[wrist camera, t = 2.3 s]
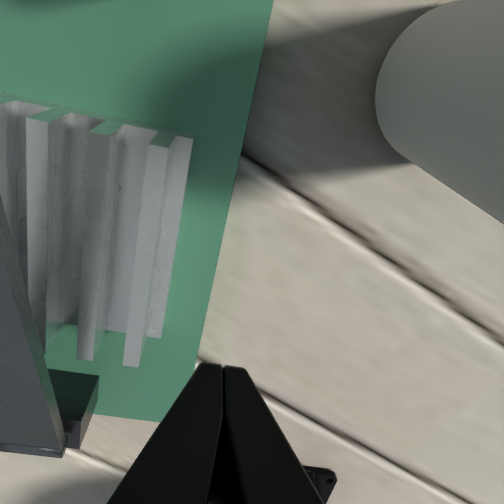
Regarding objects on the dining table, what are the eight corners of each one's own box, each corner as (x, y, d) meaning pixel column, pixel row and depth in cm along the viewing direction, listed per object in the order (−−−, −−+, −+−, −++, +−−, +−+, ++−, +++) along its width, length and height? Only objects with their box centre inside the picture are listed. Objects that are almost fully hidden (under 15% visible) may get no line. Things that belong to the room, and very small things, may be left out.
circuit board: (184, 409, 26) (182, 425, 25) (-57, 377, 24) (-71, 392, 23) (281, -48, 16) (285, -54, 15) (-128, -165, 14) (-159, -182, 13)
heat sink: (150, 408, 24) (133, 483, 20) (-34, 384, 23) (-92, 459, 19) (224, -46, 15) (220, -80, 11) (-85, -133, 13) (-227, -209, 9)
